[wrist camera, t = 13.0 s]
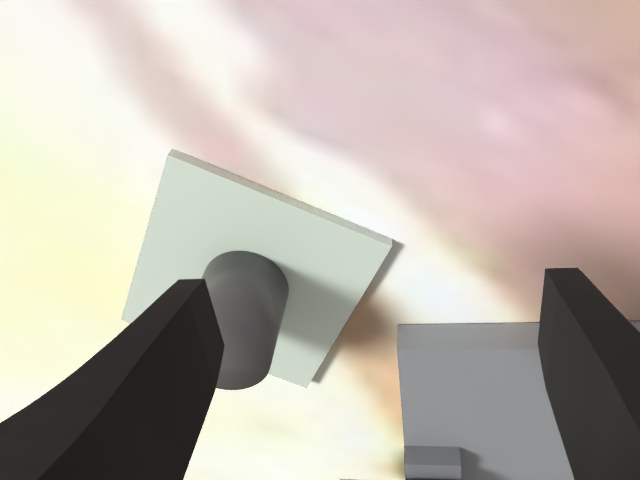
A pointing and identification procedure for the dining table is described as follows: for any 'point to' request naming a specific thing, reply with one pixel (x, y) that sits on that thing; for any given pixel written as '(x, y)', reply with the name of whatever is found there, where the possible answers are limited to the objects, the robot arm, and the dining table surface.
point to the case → (477, 404)
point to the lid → (255, 268)
